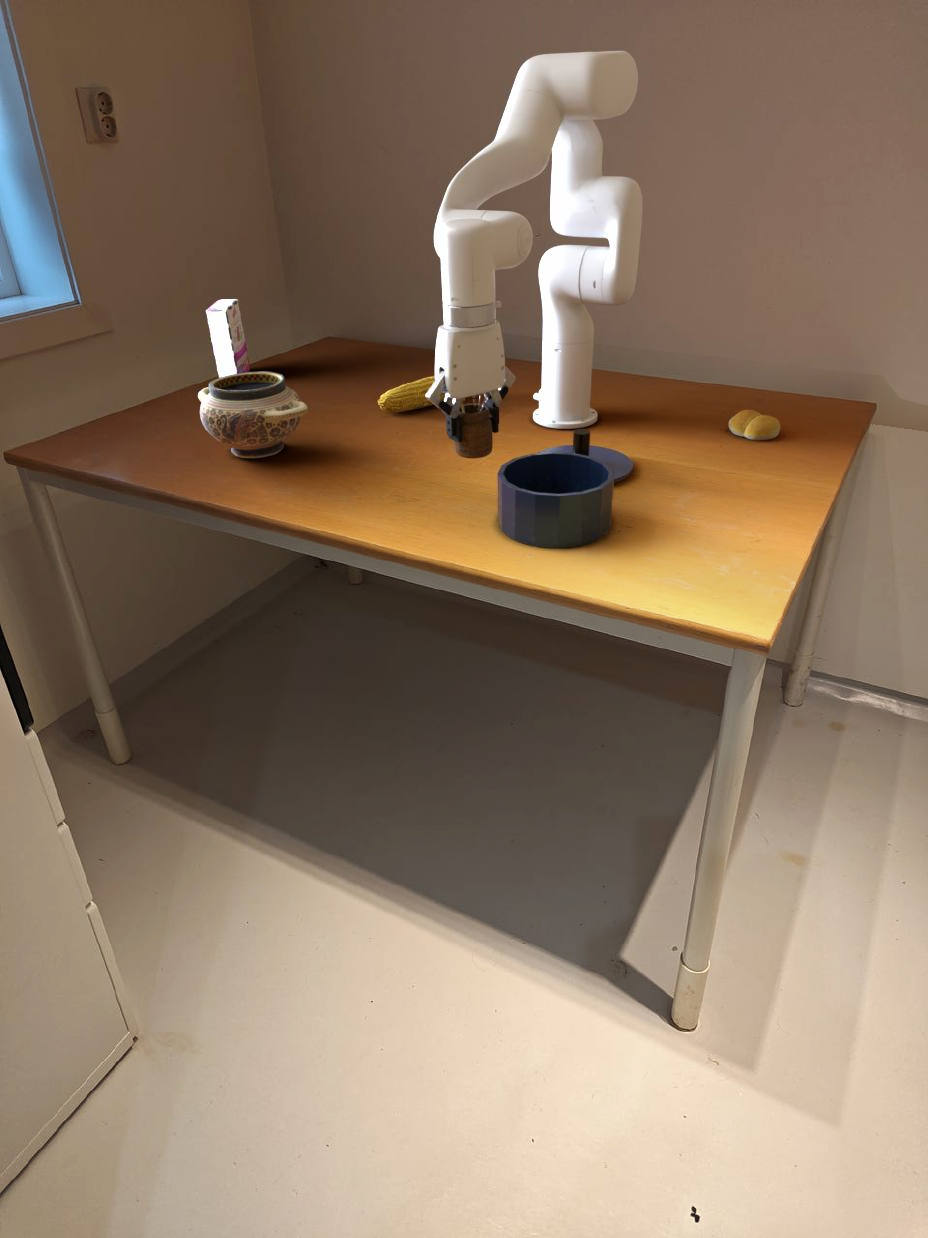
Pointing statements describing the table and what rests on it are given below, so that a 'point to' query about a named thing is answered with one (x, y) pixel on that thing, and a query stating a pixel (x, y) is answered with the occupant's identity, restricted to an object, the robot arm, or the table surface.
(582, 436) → the tin lid
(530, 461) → the tin
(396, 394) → the food
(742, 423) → the bread roll
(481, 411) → the utensil holder
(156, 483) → the table surface
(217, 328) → the candy bar box
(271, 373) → the ceramic bowl
